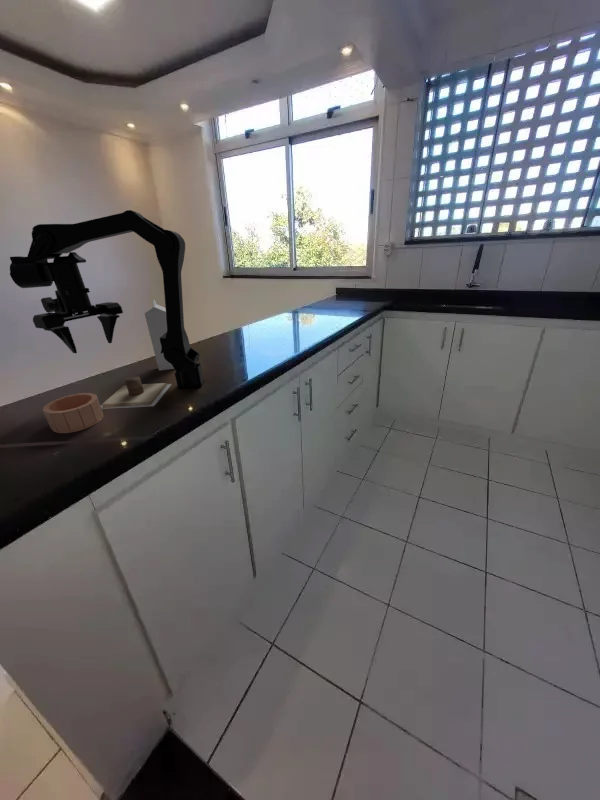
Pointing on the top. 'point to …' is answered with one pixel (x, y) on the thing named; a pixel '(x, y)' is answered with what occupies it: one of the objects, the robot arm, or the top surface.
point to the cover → (135, 393)
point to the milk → (157, 332)
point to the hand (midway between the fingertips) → (93, 347)
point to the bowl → (73, 412)
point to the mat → (141, 405)
